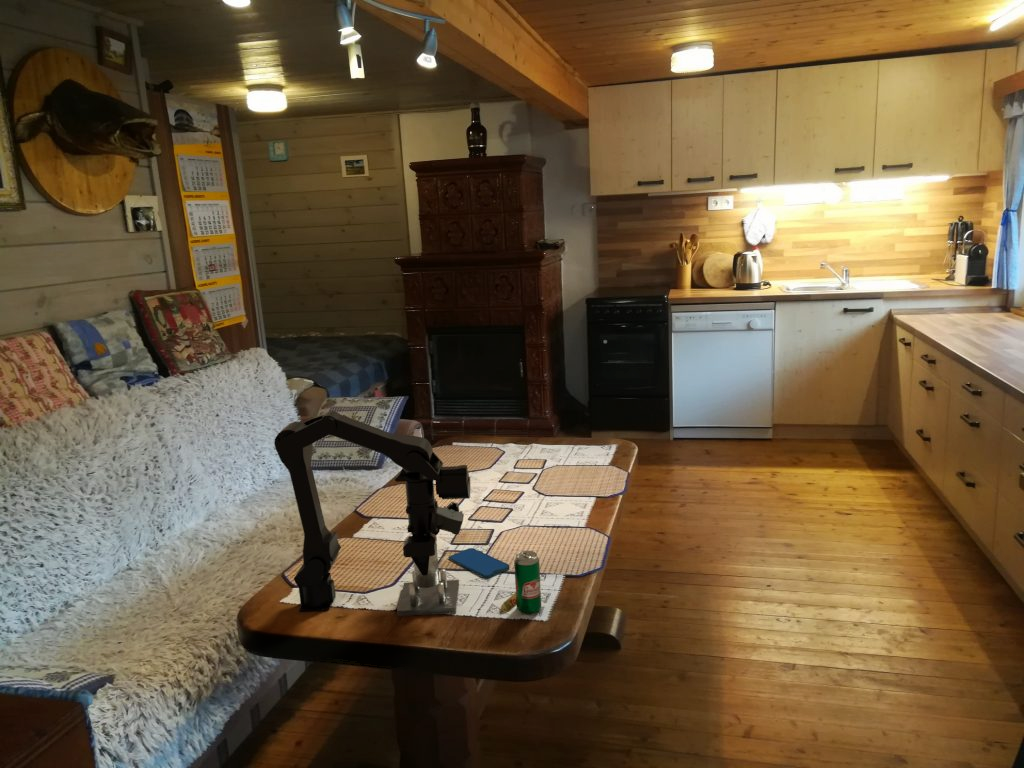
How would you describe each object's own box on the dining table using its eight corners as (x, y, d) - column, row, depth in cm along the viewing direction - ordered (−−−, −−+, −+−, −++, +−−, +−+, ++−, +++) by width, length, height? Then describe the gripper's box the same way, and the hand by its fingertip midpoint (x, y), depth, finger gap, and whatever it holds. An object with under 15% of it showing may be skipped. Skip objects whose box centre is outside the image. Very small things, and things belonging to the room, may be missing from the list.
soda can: (524, 618, 153) (521, 563, 150) (512, 607, 157) (509, 553, 154) (546, 611, 155) (543, 556, 152) (533, 600, 159) (531, 547, 156)
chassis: (397, 616, 156) (395, 593, 155) (404, 587, 167) (402, 566, 166) (455, 613, 156) (454, 589, 155) (459, 584, 168) (457, 563, 166)
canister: (413, 588, 158) (410, 544, 156) (416, 577, 163) (412, 533, 161) (438, 587, 158) (435, 542, 156) (440, 575, 163) (437, 532, 161)
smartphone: (471, 547, 185) (511, 565, 174) (471, 550, 185) (511, 569, 174) (446, 557, 180) (486, 576, 169) (447, 560, 181) (486, 580, 169)
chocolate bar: (538, 588, 165) (538, 579, 165) (509, 614, 155) (508, 604, 155) (528, 585, 166) (527, 576, 166) (498, 611, 157) (498, 601, 156)
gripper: (457, 515, 147) (462, 588, 151) (462, 481, 166) (466, 547, 169) (399, 518, 147) (406, 591, 151) (410, 484, 166) (416, 550, 169)
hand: (426, 569), depth 160 cm, fingers closed on canister, 5 cm apart
